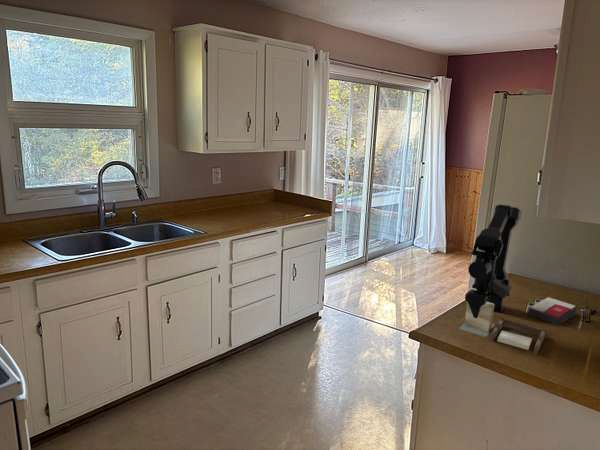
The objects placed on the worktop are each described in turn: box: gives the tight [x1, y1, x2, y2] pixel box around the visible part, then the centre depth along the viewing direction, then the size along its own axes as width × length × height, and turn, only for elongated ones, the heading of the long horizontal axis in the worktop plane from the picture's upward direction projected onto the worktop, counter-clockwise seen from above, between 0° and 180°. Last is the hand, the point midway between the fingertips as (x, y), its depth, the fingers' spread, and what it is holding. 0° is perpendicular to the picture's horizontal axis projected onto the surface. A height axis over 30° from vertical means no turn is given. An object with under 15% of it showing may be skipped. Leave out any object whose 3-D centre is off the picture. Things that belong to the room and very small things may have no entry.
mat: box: [459, 322, 496, 338], centre depth 159 cm, size 12×9×1 cm
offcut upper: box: [497, 329, 533, 350], centre depth 149 cm, size 6×9×1 cm
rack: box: [489, 318, 547, 356], centre depth 151 cm, size 15×14×3 cm
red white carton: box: [527, 296, 578, 326], centre depth 172 cm, size 11×4×15 cm
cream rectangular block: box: [463, 301, 495, 332], centre depth 158 cm, size 4×8×9 cm, turn 54°
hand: (479, 313), depth 158 cm, fingers open, 9 cm apart
